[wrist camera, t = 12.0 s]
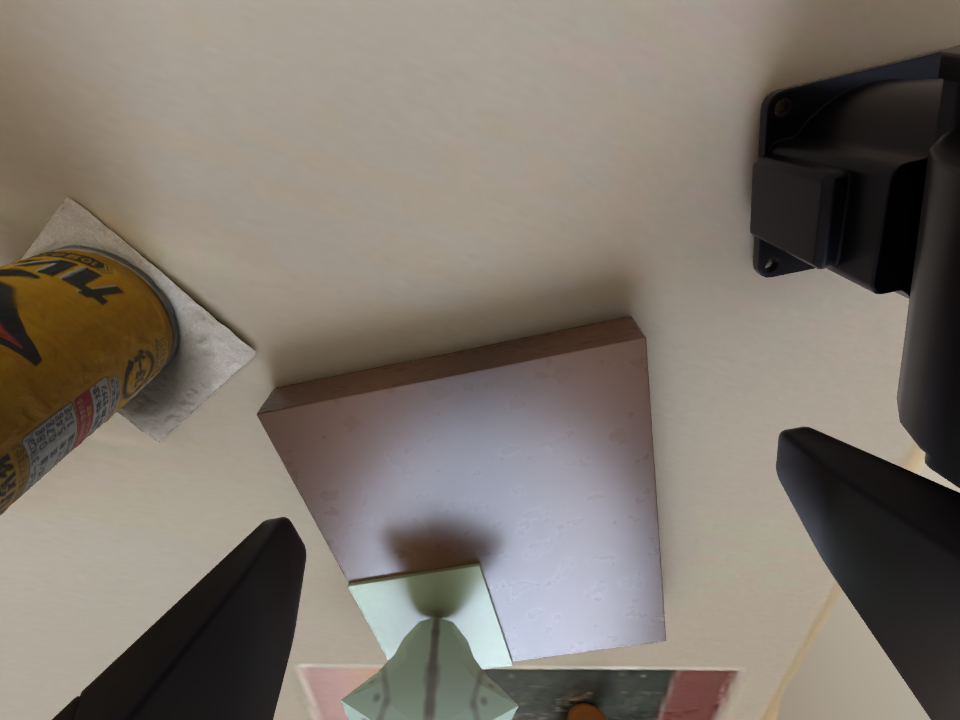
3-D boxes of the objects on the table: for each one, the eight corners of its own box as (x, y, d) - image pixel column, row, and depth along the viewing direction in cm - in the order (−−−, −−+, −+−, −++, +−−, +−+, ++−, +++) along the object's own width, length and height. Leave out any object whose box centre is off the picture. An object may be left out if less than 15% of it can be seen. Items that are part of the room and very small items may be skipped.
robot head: (513, 601, 26) (524, 752, 20) (506, 646, 28) (514, 796, 22) (361, 595, 26) (326, 747, 20) (365, 641, 27) (334, 792, 22)
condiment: (70, 194, 18) (-513, 344, 7) (258, 350, 21) (39, 612, 10) (-19, 312, 20) (-564, 557, 10) (163, 437, 23) (-97, 724, 13)
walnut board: (631, 316, 20) (647, 339, 18) (655, 609, 30) (667, 644, 28) (273, 388, 22) (254, 416, 20) (404, 644, 31) (399, 680, 29)
